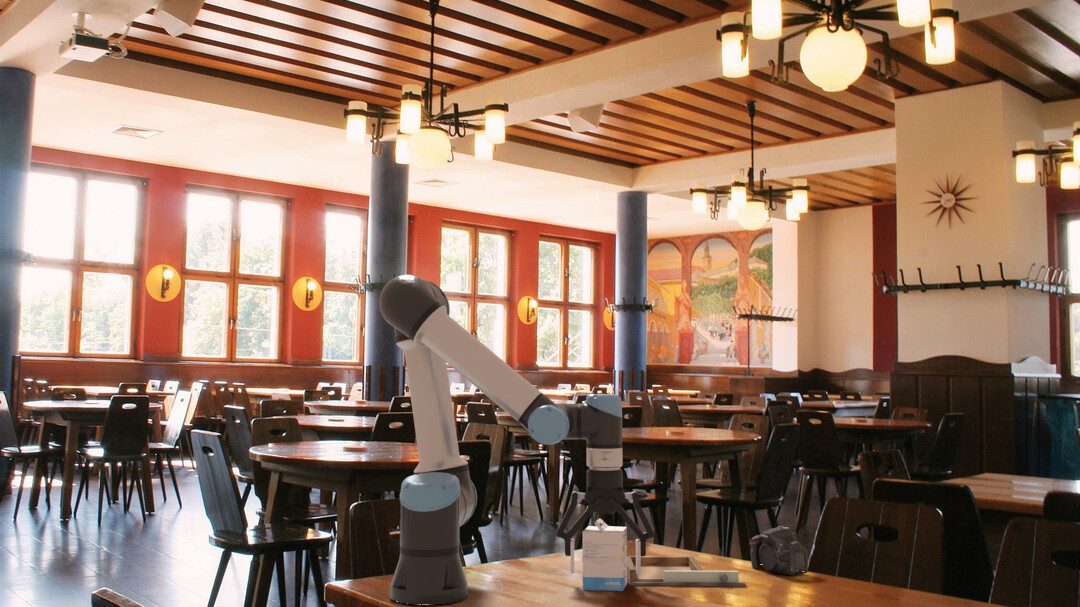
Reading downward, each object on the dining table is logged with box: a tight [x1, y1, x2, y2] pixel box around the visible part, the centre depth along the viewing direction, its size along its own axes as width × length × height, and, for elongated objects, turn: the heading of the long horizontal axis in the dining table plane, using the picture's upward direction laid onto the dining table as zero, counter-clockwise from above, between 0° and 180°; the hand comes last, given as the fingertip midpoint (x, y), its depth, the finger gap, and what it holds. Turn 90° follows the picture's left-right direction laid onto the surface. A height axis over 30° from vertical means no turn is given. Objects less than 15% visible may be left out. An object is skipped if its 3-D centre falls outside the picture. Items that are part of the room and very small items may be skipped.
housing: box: [627, 555, 747, 587], centre depth 193 cm, size 24×18×3 cm
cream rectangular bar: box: [664, 570, 740, 583], centre depth 185 cm, size 15×2×3 cm, turn 89°
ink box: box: [581, 518, 628, 592], centre depth 184 cm, size 9×8×13 cm
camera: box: [749, 525, 809, 576], centre depth 198 cm, size 13×10×10 cm
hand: (605, 572), depth 184 cm, fingers open, 13 cm apart
